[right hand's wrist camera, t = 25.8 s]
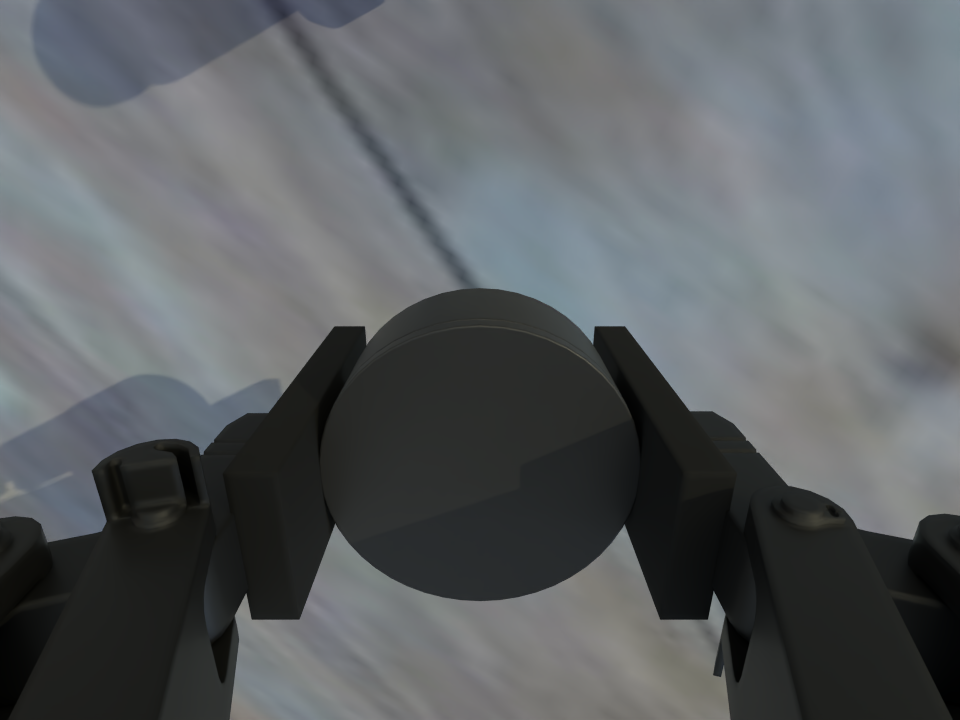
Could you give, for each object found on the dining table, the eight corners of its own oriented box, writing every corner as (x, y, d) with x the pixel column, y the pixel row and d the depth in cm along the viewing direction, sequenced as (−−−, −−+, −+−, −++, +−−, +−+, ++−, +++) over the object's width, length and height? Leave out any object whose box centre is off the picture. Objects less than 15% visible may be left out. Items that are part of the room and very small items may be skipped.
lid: (651, 326, 11) (693, 373, 9) (565, 545, 14) (581, 626, 11) (375, 255, 11) (348, 286, 9) (328, 494, 13) (296, 569, 11)
